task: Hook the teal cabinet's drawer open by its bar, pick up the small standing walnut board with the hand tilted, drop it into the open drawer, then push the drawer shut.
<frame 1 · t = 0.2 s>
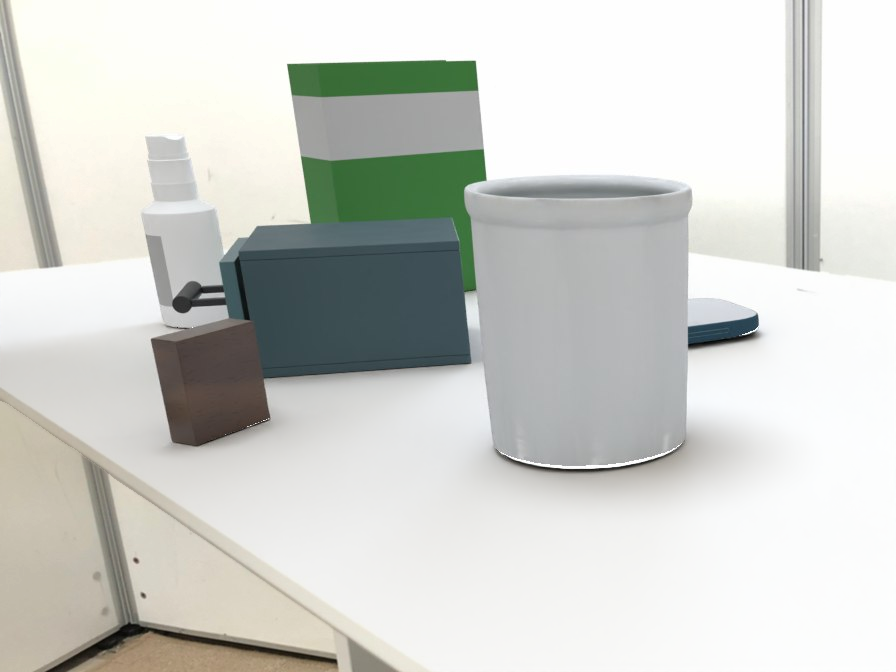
spray bottle: (200, 323, 122), on the table
drawer: (307, 296, 107), point 5 cm above the table, slide at 0.5 cm
external hard drive: (633, 342, 113), on the table
utensil holder: (593, 442, 85), on the table
walnut board: (222, 430, 88), on the table
green cereal box: (411, 294, 135), on the table
cabinet: (369, 350, 110), on the table
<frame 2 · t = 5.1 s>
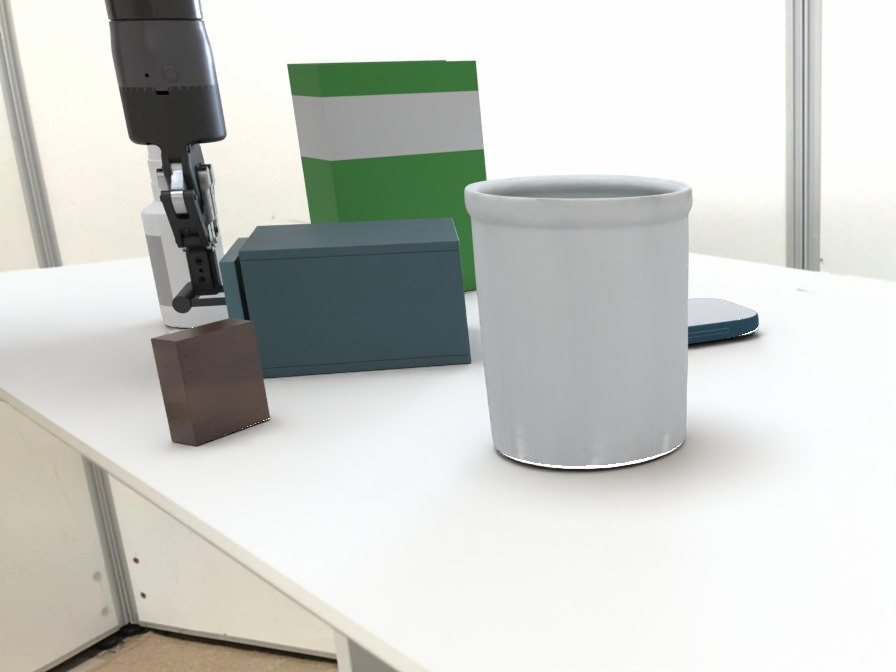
hand: (208, 293, 105), 6 cm above the table, tool pointing down, fingers closed
drawer: (307, 296, 107), point 5 cm above the table, slide at 0.5 cm, touching gripper
everything else where it was.
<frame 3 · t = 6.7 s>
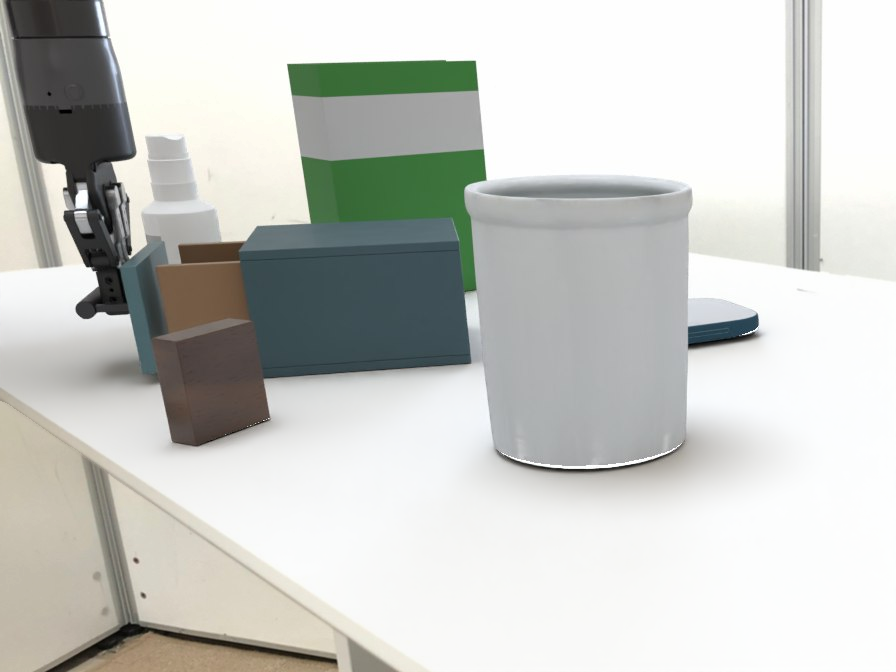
hand: (120, 313, 103), 5 cm above the table, tool pointing down, fingers closed
drawer: (218, 301, 105), point 5 cm above the table, slide at 8.0 cm, touching gripper
everything else where it was.
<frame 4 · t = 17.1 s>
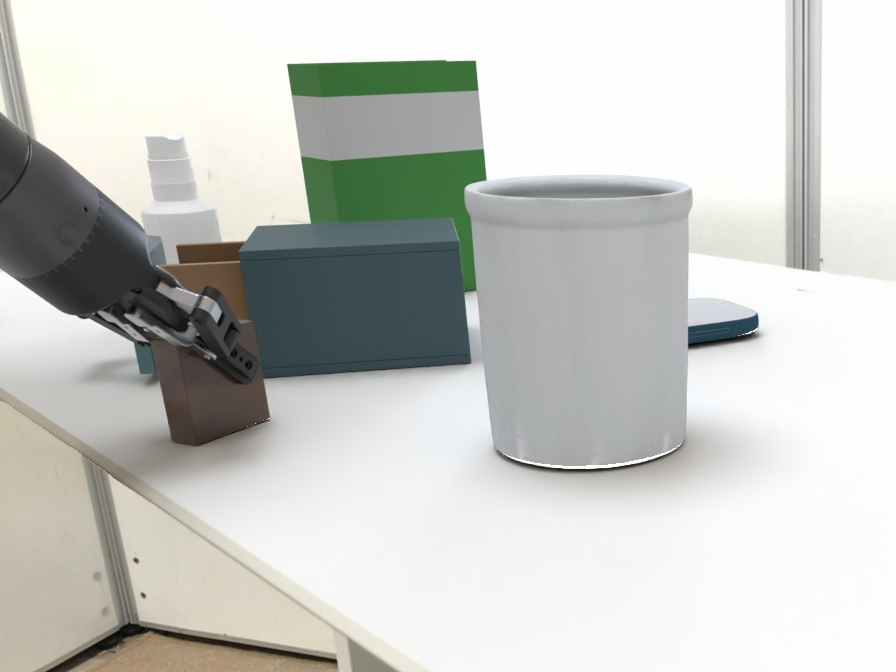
hand: (234, 371, 88), 4 cm above the table, tool tilted 45°, fingers closed on walnut board, 2 cm apart
drawer: (216, 301, 105), point 5 cm above the table, slide at 8.1 cm
walnut board: (222, 430, 88), on the table, touching gripper
everything else where it was.
when the fingers open (12 cm above the table, at t = 24.3 s): walnut board drops 6 cm, resting on drawer.
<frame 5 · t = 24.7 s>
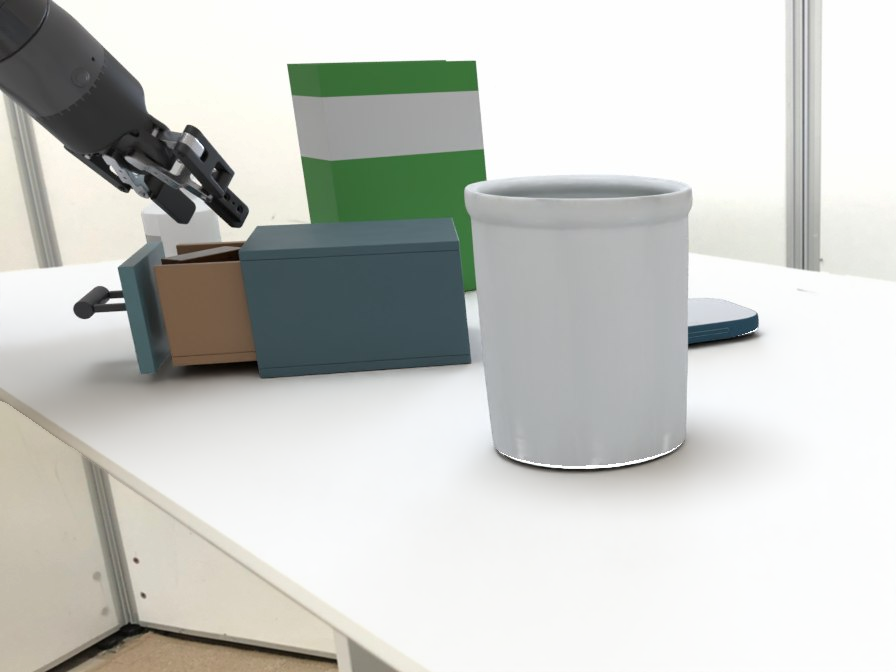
hand: (214, 217, 103), 12 cm above the table, tool tilted 45°, fingers open, 5 cm apart
drawer: (216, 301, 105), point 5 cm above the table, slide at 8.1 cm, touching walnut board
walnut board: (220, 338, 106), point 2 cm above the table, touching drawer
everything else where it was.
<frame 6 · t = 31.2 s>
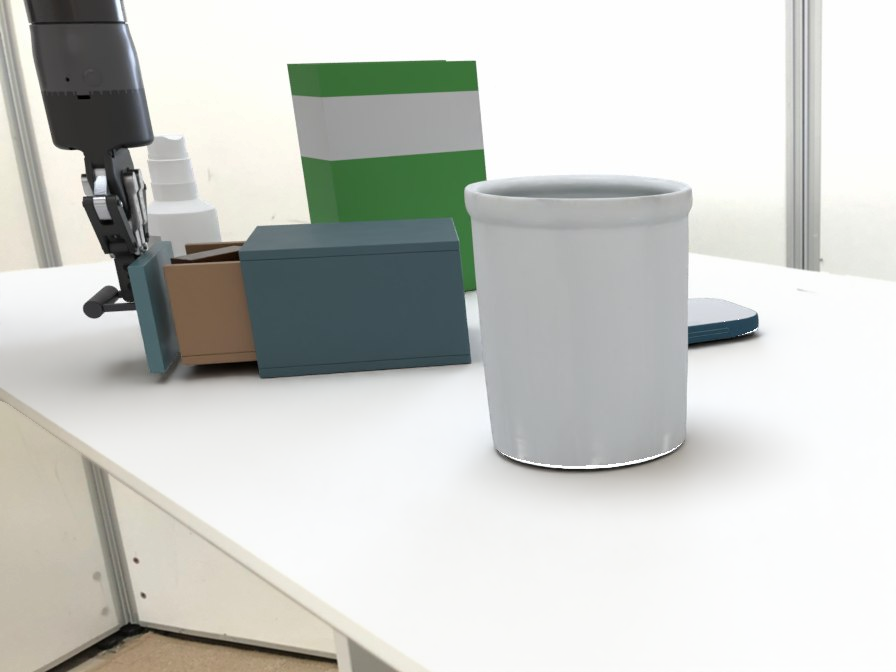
hand: (138, 300, 103), 6 cm above the table, tool pointing down, fingers closed
drawer: (225, 300, 105), point 5 cm above the table, slide at 7.4 cm, touching gripper, walnut board
everything else where it was.
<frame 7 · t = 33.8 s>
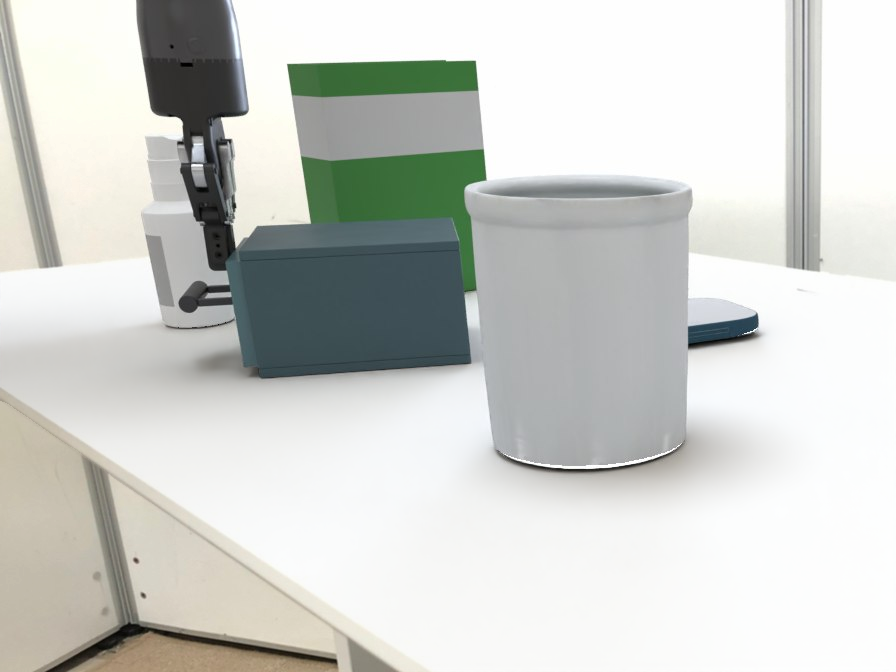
hand: (224, 269, 104), 8 cm above the table, tool pointing down, fingers closed
drawer: (313, 295, 107), point 5 cm above the table, slide at 0.0 cm, touching cabinet, walnut board
walnut board: (316, 332, 108), point 2 cm above the table, touching drawer
everything else where it was.
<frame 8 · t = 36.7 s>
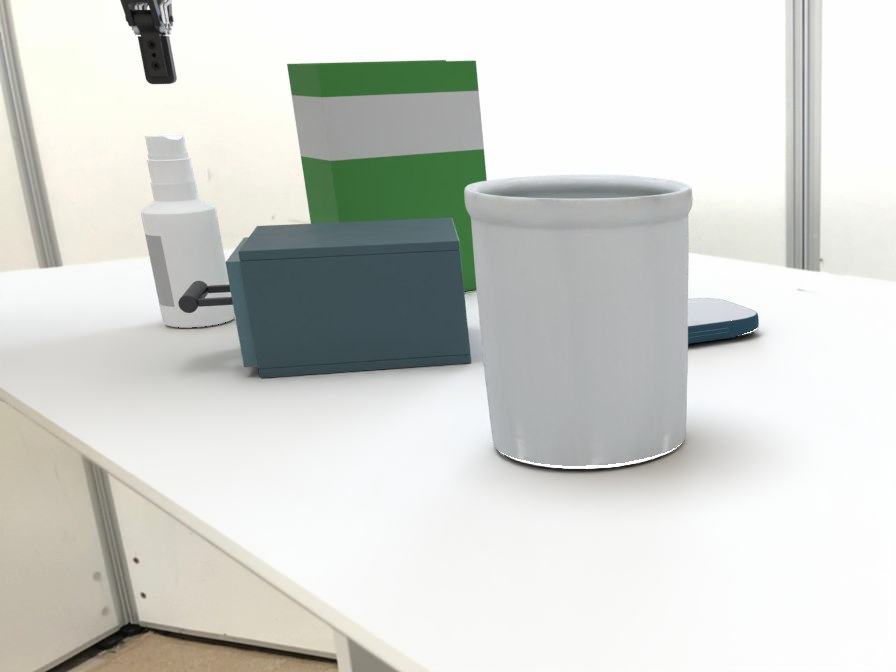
hand: (162, 83, 101), 23 cm above the table, tool pointing down, fingers closed
nothing on the table moved.
at the end: drawer pulled out 8.1 cm at the most during the clip, back to where it started at the end; walnut board inside the target area in the cabinet (4.4 cm from its centre), point 2.0 cm above the cabinet's base; drawer slide at 0.0 cm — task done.
